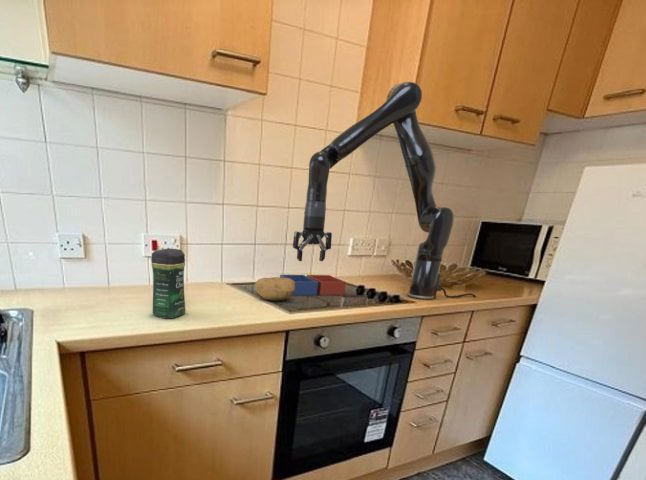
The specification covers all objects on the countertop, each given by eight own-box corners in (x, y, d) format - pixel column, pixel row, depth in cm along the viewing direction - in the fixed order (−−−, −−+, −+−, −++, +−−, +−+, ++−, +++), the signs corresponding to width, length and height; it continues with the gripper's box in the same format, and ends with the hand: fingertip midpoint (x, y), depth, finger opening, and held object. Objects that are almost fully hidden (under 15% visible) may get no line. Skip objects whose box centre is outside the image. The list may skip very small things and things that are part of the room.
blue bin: (302, 287, 168) (303, 274, 166) (316, 295, 154) (318, 281, 152) (278, 287, 165) (279, 274, 163) (291, 295, 152) (292, 281, 150)
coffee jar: (173, 320, 112) (171, 251, 105) (148, 316, 115) (145, 248, 108) (189, 313, 121) (189, 248, 114) (166, 309, 123) (165, 246, 116)
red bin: (328, 287, 170) (329, 275, 168) (344, 295, 157) (346, 282, 155) (305, 287, 168) (306, 274, 166) (319, 295, 154) (321, 281, 152)
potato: (254, 296, 146) (255, 274, 143) (293, 298, 146) (295, 276, 143) (253, 302, 137) (254, 278, 134) (295, 305, 137) (297, 281, 134)
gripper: (299, 214, 141) (296, 262, 147) (337, 215, 144) (332, 262, 150) (292, 213, 147) (289, 259, 154) (328, 215, 151) (324, 259, 157)
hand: (310, 261), depth 152 cm, fingers open, 8 cm apart
